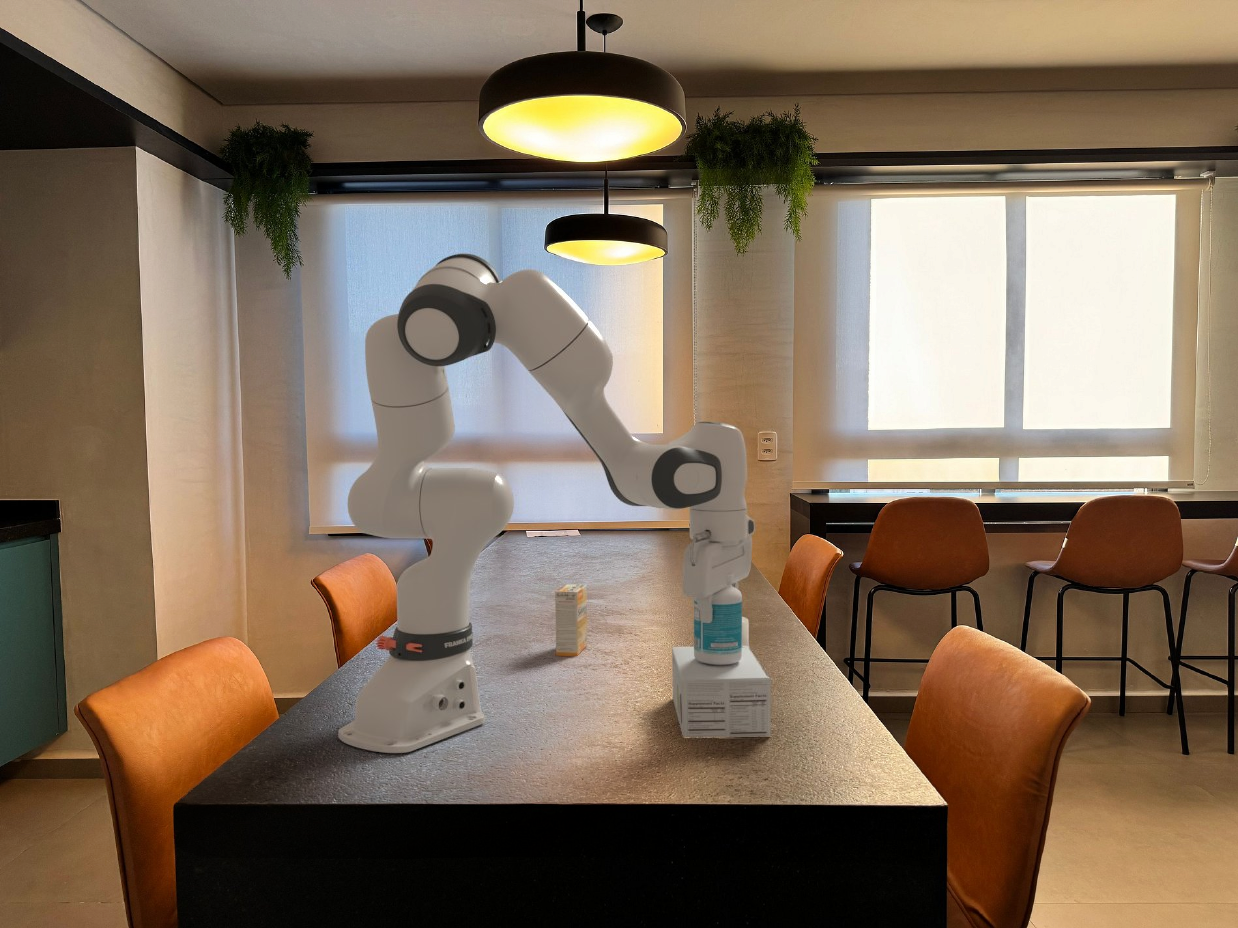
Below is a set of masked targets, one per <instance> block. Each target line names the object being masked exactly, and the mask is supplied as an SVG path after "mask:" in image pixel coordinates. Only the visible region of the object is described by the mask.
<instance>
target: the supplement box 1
mask: <svg viewBox="0 0 1238 928" xmlns="http://www.w3.org/2000/svg"><path fill="white" fill-rule="evenodd" d="M554 594H555V595H554V596H555V597H554V598H555V656H557V657H578V656H579V655H580V654H581V653H582V652H583V650H584V649H585V648H587V646H588V601H587V599H588V585H587V584H577V583H575V584H572V583H571V584H564V586H562V587H560V588H558V589H557V590H556V591H555V593H554Z"/></svg>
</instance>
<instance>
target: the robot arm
mask: <svg viewBox="0 0 1238 928" xmlns="http://www.w3.org/2000/svg"><path fill="white" fill-rule="evenodd" d="M400 305H401V306H400V308H399V311H398V313H396V314H389V315H386V316H383V317H382V318H380V319H378V320H377V321H375V322H374V323H373V324H371V326H370V327H369V328H368V330H367V332H366V335H365V339H364V343H365V344H364V345H365V346H364V348H365V349H364V352H365V353H364V355H365V357H364V358H365V370H366V371H365V372H366V379H367V386H368V391H369V397H370V401H371V406H372V410H373V415H374V422H375V429H376V436H377V437H376V438H377V448H376V449H377V450H376V454H375V457H374V459H373V461H372V463H371V465H370V466H369V467H368V469H366V470H365V471H364V472H363V473H362V474H361V475H359V476H358V477H357V478H356V480H355V481H354V482H353V483H352V485H351V488H350V489H349V493H348V496H347V512H348V515H349V518H350V520H351V522H352V524H353V525H354V527H355V528H356V529H357V531H359V533H362V534H366V535H372V536H375V537H381V538H385V539H386V538H387V539H429V540H432V548H431V553H430V555H429V556H427V557H426V558H424V559H421V560H420V561H417V562H415V563H414V564H412V565H410V566H409V567H407V568H406V569H405V570H404V571H403V572H402V573H401V574H400V576H399V578H398V581H397V583H396V612H397V613H396V620H397V621H396V622H397V625H396V627H395V629H394V632H393V635H392V637H391V636H385V635H380V636H378V638H377V640H376V643H375V645H376V647H377V649H379V650H385V651H388V654H389V656H388V657H387V659H386V660H385V661H384V662H383V663H382V664H381V665H380V667H379V668H378V670H377V671H375V673H374V674H373V675H372V677H371V678H370V679H369V681H367V683H366V684H365V685H364V687H362V688H361V690H360V691H359V693H358V695H357V697H356V702H355V703H356V704H355V710H354V711H355V713H354V720H353V721H351V722H349V723H347V724H346V725H343V726H342V727H340V728H339V729H338V734H337V737H338V739H339V740H340V741H341V742H342V743H345V744H347V745H349V746H352V747H354V748H355V747H356V748H357V749H362V750H366V751H371V752H379V753H384V754H385V753H387V754H403V753H404V754H405V753H409V752H412V751H415V750H417V749H420V748H423V747H426V746H428V745H431V744H434V743H436V742H439V741H441V740H445V739H447V738H448V737H451V736H454V735H457V734H460V733H462V732H465V731H467V730H470V729H472V728H475V727H478V726H481V725H483V724H485V722H486V719H485V713H484V712H483V711H482V707H481V703H480V695H479V686H478V685H479V684H478V678H477V673H476V672H477V669H476V666H475V664H474V661H473V657H472V651H471V648H472V647H473V643H474V642H473V639H474V638H473V637H474V632H473V625H472V622H470V594H471V593H470V591H471V590H470V589H471V579H472V574H473V571H474V567H475V565H476V561H477V560H478V558H479V556H480V554H481V553H482V551H483V550H484V548H485V547H486V546H487V545H488V544H489V543H490V541H492V540H494V538H495V537H496V536H498V535H499V534H500V533H501V532H502V531H504V529H505V528H506V527H507V525H508V524H509V523H510V521H511V519H512V517H513V512H514V503H515V502H514V494H513V492H512V489H511V488H512V487H511V486H510V484H509V482H508V481H507V480H506V479H505V477H504V476H502V474H501V473H499V472H492V471H488V470H483V469H477V468H470V467H469V468H464V467H462V468H432V467H427V466H426V464H425V461H426V460H428V459H431V458H432V457H435V456H436V455H438V454H439V453H441V452H442V451H444V449H445V448H446V447H448V445H450V443H451V441H452V439H453V437H454V434H455V431H456V429H455V428H456V425H455V419H454V413H453V406H452V400H451V393H450V387H449V382H448V377H447V371H446V367H448V366H451V365H454V364H457V363H459V362H462V361H465V360H467V359H469V358H472V357H475V356H477V355H480V354H483V353H484V354H485V353H486V352H489V351H490V350H491V349H492V348H493V346H494V343H496V344H499V345H502V346H504V348H507V349H508V350H509V351H510V352H511V353H512V354H513V355H514V356H515V357H516V359H518V361H519V362H520V363H521V364H522V365H523V366H524V368H525V369H526V370H527V372H529V373H530V375H531V376H532V377H533V378H534V379H535V381H537V383H538V384H539V385H540V386H541V388H543V390H545V391H546V393H547V394H548V395H549V396H550V397H551V398H552V399H553V400H554V402H555V403H556V404H557V405H558V407H560V409H561V410H562V412H563V413H564V415H565V416H566V418H567V419H568V420H569V422H570V423H571V425H572V426H573V427H574V429H575V430H576V431H577V432H578V434H579V435H580V436H581V438H582V439H583V440H584V441H585V442H586V444H587V446H588V447H589V448H590V449H591V451H592V452H593V454H594V455H595V456H596V458H597V459H598V460H599V462H600V464H601V465H602V468H603V471H604V474H605V477H606V480H607V483H608V485H609V488H610V490H611V491H612V493H613V495H614V496H615V497H616V498H617V499H618V500H619V501H620V502H621V503H623V504H626V505H628V506H631V507H651V508H658V509H664V510H665V509H666V510H672V511H673V510H675V511H677V510H683V509H687V508H689V538H690V539H691V542H690V543H689V544H688V545H687V546H686V547H685V549H684V553H683V563H682V580H681V583H682V584H681V587H682V588H681V589H682V592H683V594H684V596H685V597H688V598H694V597H696V601H697V604H698V607H699V610H700V620H701V622H703V623H710V622H712V621H714V619H715V617H714V615H715V610H713V609H712V602H711V601H712V600H713V594H714V593H716V592H718V591H720V590H722V589H724V588H725V587H726V586H727V583H726V576H727V575H729V574H732V573H733V583H732V587H735V588H737V589H738V590H739V581H742V580H743V579H745V578H748V577H749V574H750V572H751V568H752V552H753V538H752V535H753V534H755V532H756V522H755V520H754V519H752V518H751V517H750V516H749V515H748V505H747V501H746V497H745V489H746V484H747V482H748V464H747V463H748V461H747V448H746V443H745V438H744V435H743V433H742V431H741V429H739V428H737V426H734V425H732V424H729V423H724V422H714V421H699V422H696V423H694V425H693V427H692V428H691V429H689V430H688V431H687V432H686V433H684V434H683V435H681V436H680V437H678V438H675V439H674V440H671V441H669V442H667V443H666V444H651V443H648V442H644V441H641V440H639V439H637V438H636V437H634V436H633V435H632V434H631V432H630V431H629V430H628V428H627V427H626V426H625V425H624V423H623V422H622V421H621V419H620V418H619V416H618V415H617V414H616V411H614V410H613V408H612V407H611V405H610V404H609V402H608V401H607V399H606V396H605V387H606V386H607V384H608V382H609V381H610V378H611V377H612V376H611V375H612V371H613V367H614V366H613V364H614V361H613V360H614V358H613V357H614V356H613V353H612V350H611V349H610V347H609V345H608V343H607V341H606V339H605V338H604V336H603V335H602V333H601V332H600V330H599V329H598V328H597V327H596V326H595V324H594V323H593V322H592V320H591V319H590V318H589V317H588V316H587V315H586V313H585V312H584V311H583V310H582V308H581V307H579V305H578V304H577V303H576V302H575V301H574V300H573V299H572V298H571V296H569V295H568V294H567V293H566V292H565V291H564V290H563V289H562V288H561V287H560V286H558V285H557V284H556V282H554V281H553V280H552V279H551V278H549V277H548V276H547V275H546V274H544V273H543V272H542V271H540V270H536V269H532V268H530V269H529V268H528V269H523V270H519V271H515V272H514V273H512V274H510V275H508V276H507V277H505V278H504V279H502V280H501V279H500V276H499V274H498V273H497V271H496V270H495V268H494V267H493V266H492V264H490V262H488V261H487V260H485V259H484V258H482V257H480V256H478V255H475V254H473V253H472V254H471V253H456V254H452V255H449V256H447V257H444V258H443V259H441V260H439V261H438V262H437V263H436V265H434V266H433V267H431V269H429V270H427V272H425V273H424V274H423V275H422V276H421V277H420V278H419V280H418V281H417V283H416V284H415V286H414V287H413V289H412V290H411V291H410V292H409V293H408V294H407V295H406V296H405V298H404V299H403V301H402V303H401V304H400Z"/></svg>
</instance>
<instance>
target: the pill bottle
mask: <svg viewBox="0 0 1238 928" xmlns="http://www.w3.org/2000/svg"><path fill="white" fill-rule="evenodd" d="M726 583H727V586H726V587H725V588H724V589H722V590H720V591H718V592H716V593H714V594H713V600H712V601H711V602H712V609H713V610H715V615H714V617H715V619H714V621H712V622H710V623H703V622H701V620H700V610H699V607H698V604H697V601H696V597H693V647H694V657H695V658H696V659H697V660H698V661H700V662H703V663H707V664H715V665H726V664H733V663H736V662H738V661H739V660H740V659H741V657H742V617H743V595H742V592H741V591H740V590H739V588H738V589H737V588H735V587H732V583H733V573H732V574H729V575H727V576H726Z"/></svg>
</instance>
